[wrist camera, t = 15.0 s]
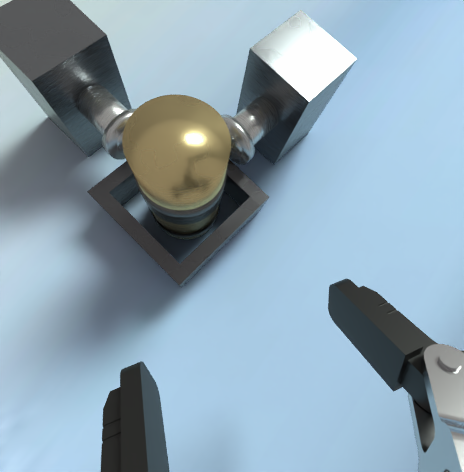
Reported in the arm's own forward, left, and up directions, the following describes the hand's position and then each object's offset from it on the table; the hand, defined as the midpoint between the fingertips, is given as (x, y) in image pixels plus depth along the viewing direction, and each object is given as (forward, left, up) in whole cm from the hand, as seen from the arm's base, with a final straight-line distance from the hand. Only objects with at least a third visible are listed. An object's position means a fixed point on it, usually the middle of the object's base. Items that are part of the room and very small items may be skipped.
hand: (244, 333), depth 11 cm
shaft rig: (-8, -13, -10) cm, 18 cm away
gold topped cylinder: (-4, -8, -10) cm, 14 cm away
